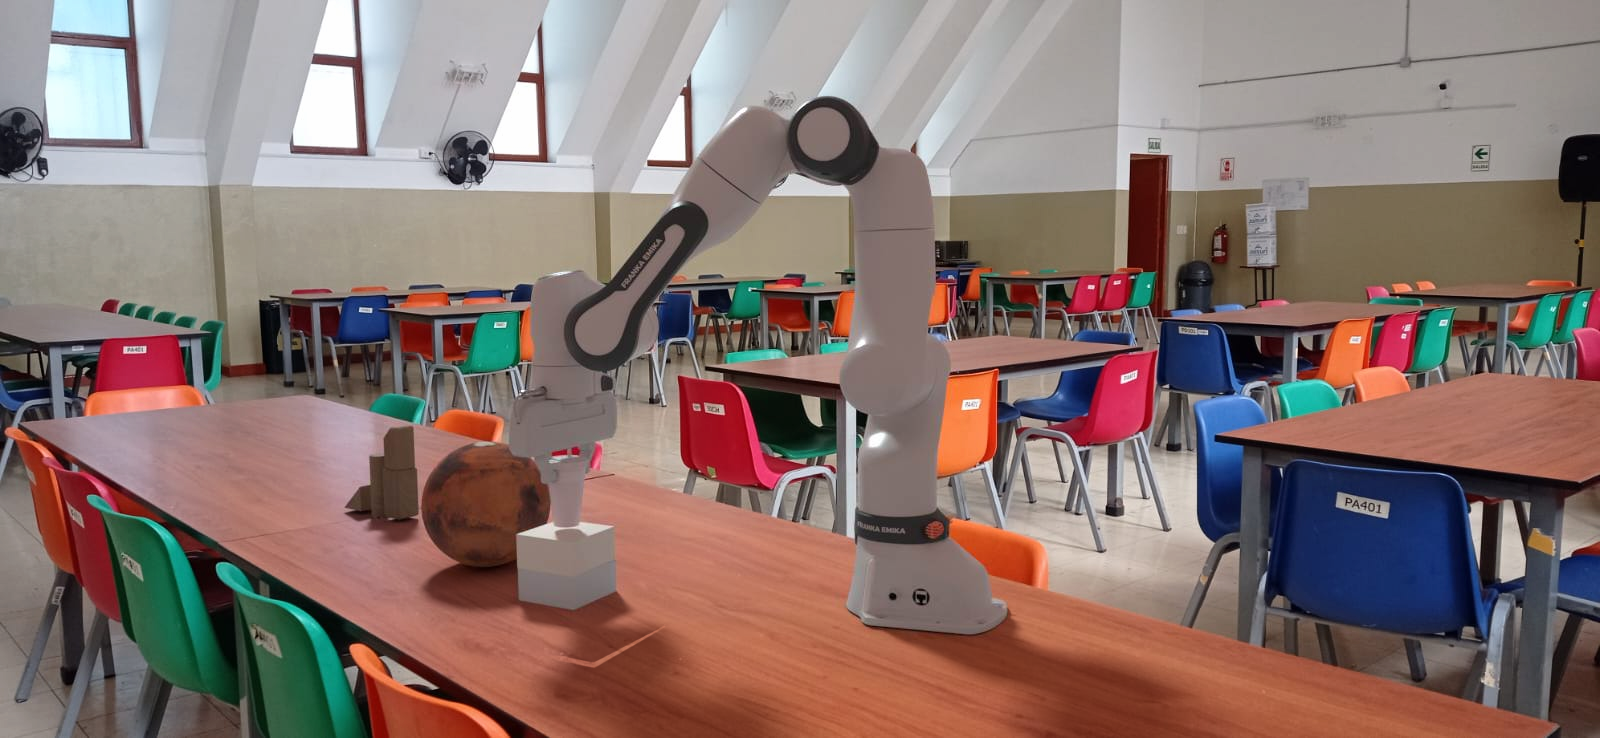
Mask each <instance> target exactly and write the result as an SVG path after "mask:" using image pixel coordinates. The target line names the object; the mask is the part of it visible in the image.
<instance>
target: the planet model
mask: <svg viewBox="0 0 1600 738" xmlns="http://www.w3.org/2000/svg"><path fill="white" fill-rule="evenodd" d="M421 494H422V496H421V502H420V503H421V507H420V509H421V519H422V522H423V525H424V528H425V530H426V532H427V534H428V537H429V538H430V540H431V542H432V543H433V544H434V545H435V546H436V547H437V548H438V549H439V550H440V552H441V553H443V554H444V555H446V556H447V557H448V558H450V559H451V560H454V561H456V562H458V563H460V564H463V565H466V566H471V567H476V568H477V567H478V568H491V567H492V568H493V567H497V566H503V565H505V564H509V563H510V562H513V561H515V560H517V542H516V534H519V533H522V532H525V531H528V530H531V529H534V528H536V527H539V526H542V525H545V524H548V521H549V518H550V512H551V501H550V494H549V487H548V484H543V483H542V482H541V473H540V470H539V469H538V467H537V465H536V463H535V461H534V458H533V457H531V458H527V457H517V456H513V454H512V453H511V451H510V450H509V443H508V444H507V443H504V442H503V443H502V442H498V441H479V442H472V443H469V444H466V445H463V446H461V447H459V448H457V449H454V450H453V451H451V452H450V453H449V454H447V455H446V456H444V457H443V458H442V459H441V460H440V461H439V462H438V463H436V466H435V467H433V469H432V470H431V473H430V474H429V475H428V477H427V480H426V482H425V485H424V487H423V491H422V493H421Z"/></svg>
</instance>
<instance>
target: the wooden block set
mask: <svg viewBox="0 0 1600 738" xmlns="http://www.w3.org/2000/svg"><path fill="white" fill-rule="evenodd" d="M414 431H415V429H414V426H413V425H410V424H409V425H408V424H404V425H399V426H398V425H397V426H393V427H389V428H388V431H386V432H387V433H385V435H384V437H383V453H372V454H370V455H369V456H368V458H369V459H368V460H369V480H370V482H369V483H370V484H367V485H363V486H360V487H359V488H358V489H357V490H356V491H355V493H354V494H353V496H352V497H351V498H350V499H349V501H348V502H347V503H346V505H345V506H344V509H348V510H354V511H359V512H364V511H369V510H371V517H372V518H373V517H376V518H375V519H379V518H378V517H385V518H389V519H390V518H391V519H394V520H399V521H400V520H403V519H408V518H411V517H417V516H418V515H419V514H420V512H419V511H420V510H419V488H418V487H419V485H418V484H419V483H418V481H419V480H418V468H417V467H416V457H415V455H416V454H415V452H416V451H415V432H414Z"/></svg>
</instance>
